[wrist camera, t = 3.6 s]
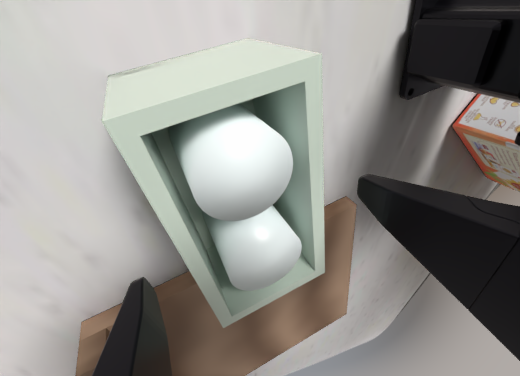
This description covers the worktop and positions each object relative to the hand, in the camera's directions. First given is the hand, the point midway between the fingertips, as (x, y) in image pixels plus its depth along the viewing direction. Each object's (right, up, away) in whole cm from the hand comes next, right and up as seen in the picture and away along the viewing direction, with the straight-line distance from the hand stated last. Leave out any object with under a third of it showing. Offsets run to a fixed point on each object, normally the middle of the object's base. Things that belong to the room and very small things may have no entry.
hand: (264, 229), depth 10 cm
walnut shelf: (-1, -10, +14) cm, 17 cm away
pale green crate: (-2, +3, +4) cm, 6 cm away
